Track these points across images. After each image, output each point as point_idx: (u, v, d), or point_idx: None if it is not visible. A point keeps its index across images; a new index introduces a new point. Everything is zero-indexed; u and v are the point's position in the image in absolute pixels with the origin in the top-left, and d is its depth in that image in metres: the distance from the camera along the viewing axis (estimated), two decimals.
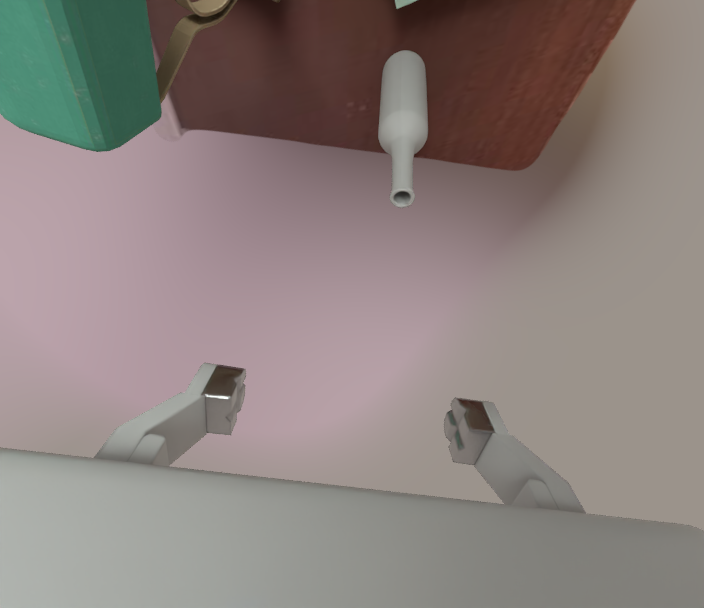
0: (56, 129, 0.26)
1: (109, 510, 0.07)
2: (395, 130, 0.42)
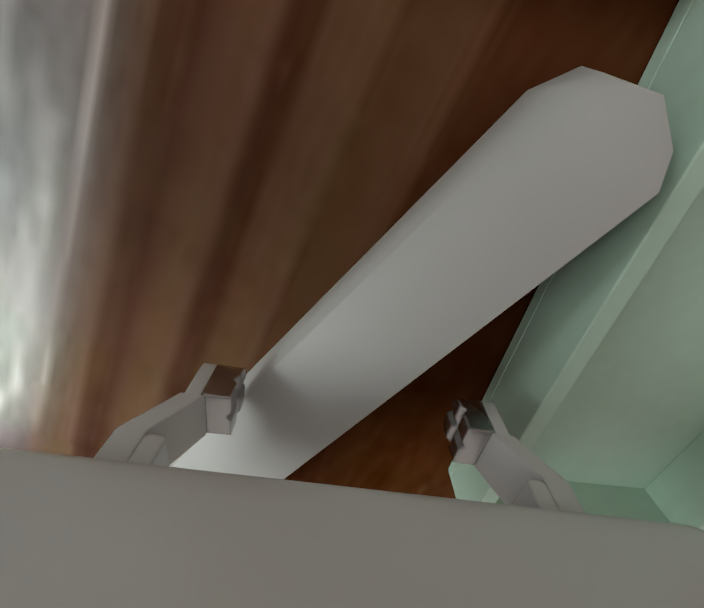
0: None
1: (109, 510, 0.07)
2: None
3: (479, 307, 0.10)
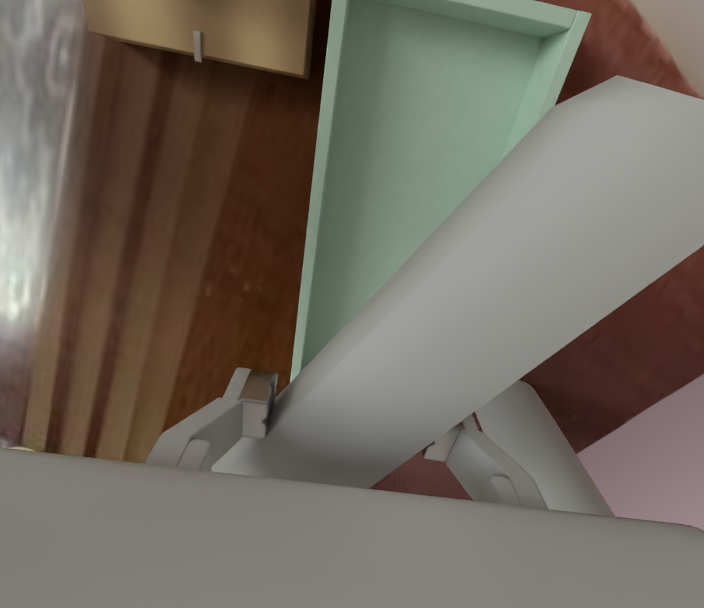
0: None
1: (109, 510, 0.07)
2: None
3: (506, 363, 0.09)
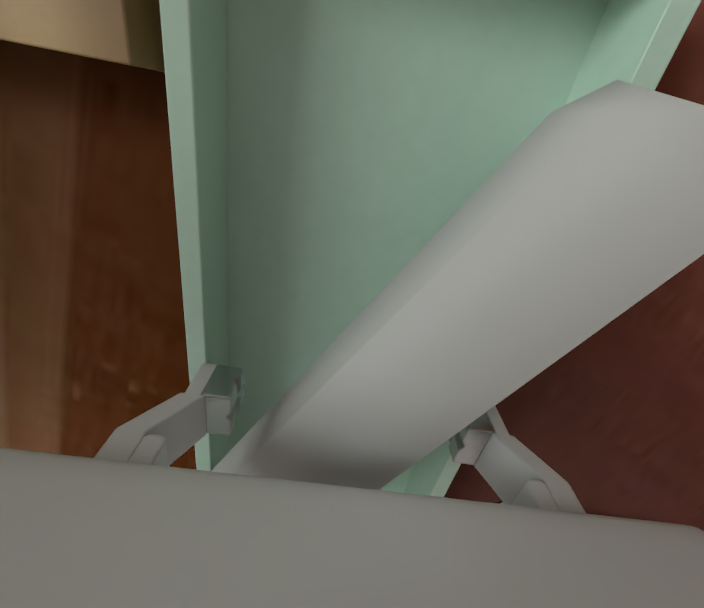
0: None
1: (109, 510, 0.07)
2: None
3: (507, 372, 0.09)
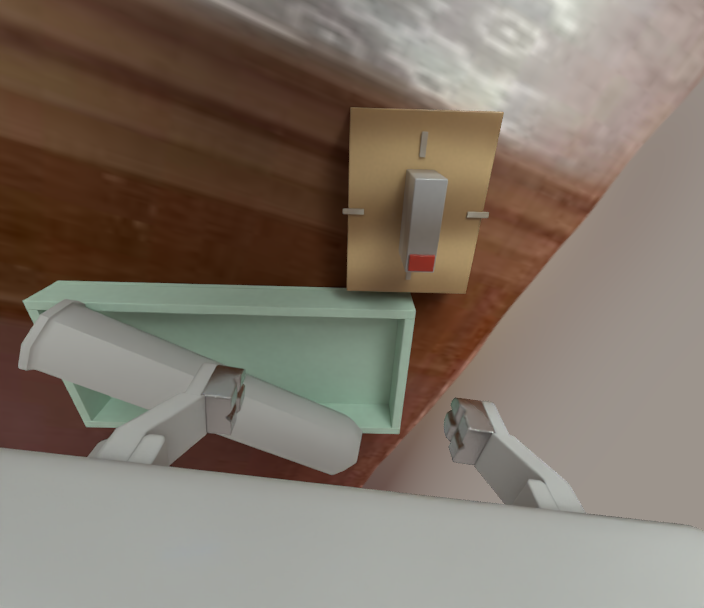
0: None
1: (109, 510, 0.07)
2: None
3: (278, 449, 0.27)
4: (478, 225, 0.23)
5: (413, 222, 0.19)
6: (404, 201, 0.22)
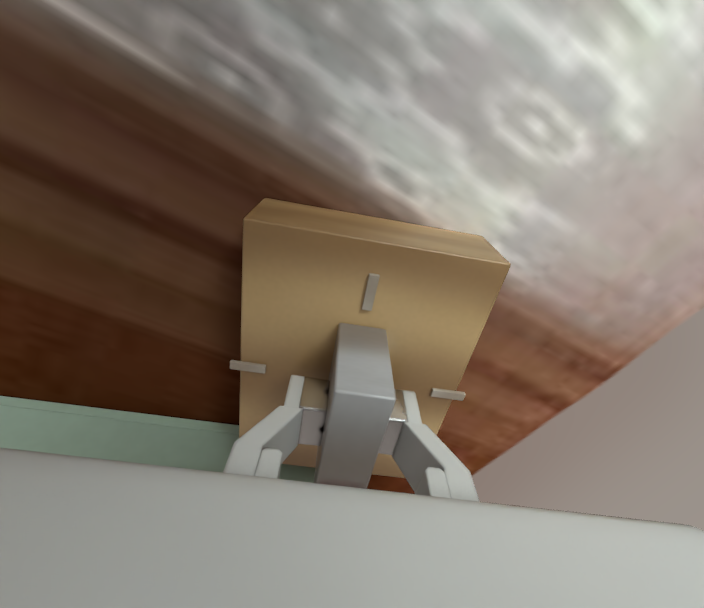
0: None
1: (109, 510, 0.07)
2: None
3: None
4: (447, 406, 0.15)
5: (327, 447, 0.11)
6: (330, 370, 0.13)
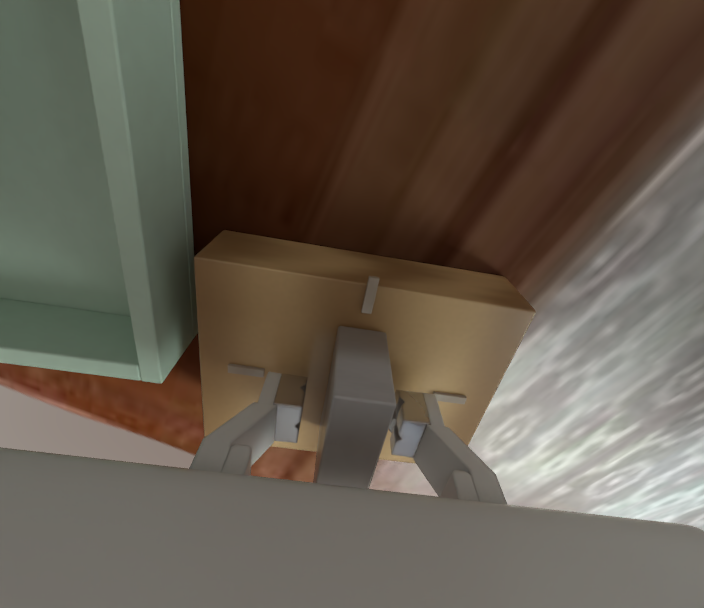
0: None
1: (109, 510, 0.07)
2: None
3: None
4: None
5: (326, 453, 0.10)
6: (330, 373, 0.13)
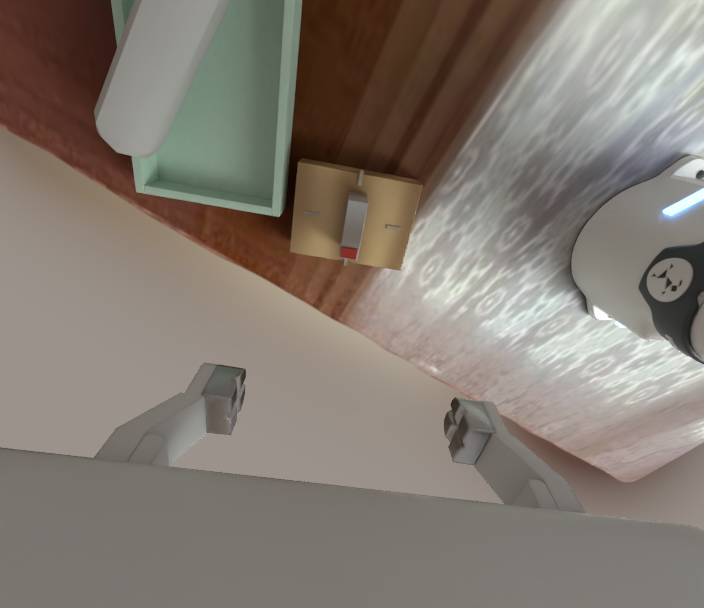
0: None
1: (109, 510, 0.07)
2: None
3: (129, 64, 0.24)
4: (339, 259, 0.36)
5: (345, 226, 0.31)
6: (345, 212, 0.33)
